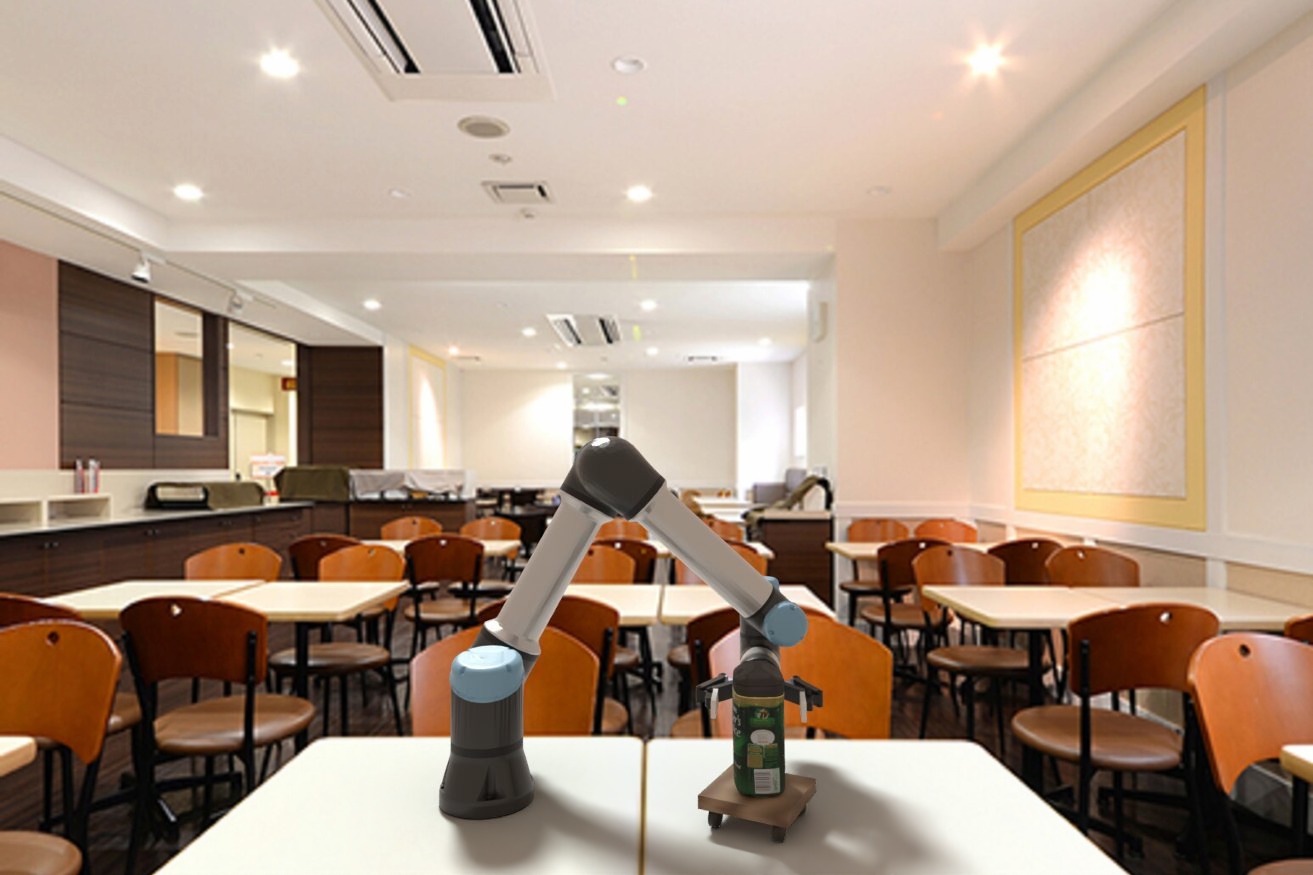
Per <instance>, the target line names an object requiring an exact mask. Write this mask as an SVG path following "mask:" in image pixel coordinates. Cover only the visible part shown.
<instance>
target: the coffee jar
mask: <svg viewBox="0 0 1313 875" xmlns="http://www.w3.org/2000/svg"><path fill="white" fill-rule="evenodd" d="M781 671H782V670H781ZM781 671H780V670H779V669H778V668H777V667H775V666H774V665H772V664H770V663H769V662H768V661H744V662H743V663H741V664H740V665H739V664H738V665H737V666H735V667H734V669H733V671H732V678H733V684H732V702H731V707H732V708H731V710H732V711H731V712H732V713H731V714H732V718H731V719H732V745H733V746H732V756H733V758H732V759H733V762H732V764H733V767H734V783H735V785H736V788H737V790H738V791H739V792H740V793H742V794H746V795H750V796H754V797H770V796H774V795H778V794H782V793H783V792H784V790H785V773H786V757H785V756H786V750H785V749H786V746H785V744H786V743H785V737H786V736H785V735H786V733H785V700H784V680H785V678H784V676H783V673H782V672H781Z"/></svg>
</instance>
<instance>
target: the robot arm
mask: <svg viewBox="0 0 1313 875" xmlns="http://www.w3.org/2000/svg"><path fill="white" fill-rule="evenodd" d="M667 481H668V480H667V479H666V478H664V476H663V475H662V474H660V473H659V471H657V470H656V469H655V467H653V466H652V465H651V463H650V462H649V461H648V460H647V459H646V458H645V456H643V454H642V453H641V452H640V451H639V450H638V449H637V448H636V446H635V445H634V444H632V443H631V442H629V441H628V440H626V439H625V438H623V437H618V436H616V435H615V436H612V435H611V436H610V435H607V436H603V437H598V438H597V437H596V438H595V439H592V440H589V441H588V442H587V443H585V444H584V445H583V446H582V447H581V448H580V449H579V451H577V453H576V455H575V458H574V461H573V463H572V466H571V468H570V469H569V471H568V473H567V475H566V477H565V478H564V480H563V482H562V484H561V486H560V488H559V489H558V492H559V496H560V499H561V500H560V502H561V503H560V505H559V506H558V508H557V510H555V512H554V515H553V517H552V518H551V520H550V522H549V524H548V526H547V528H546V529H545V530H544V533H543V535H542V537H541V538H540V540H539V541H538V544H537V545H536V547H535V549H534V551H533V552H532V555H531V556H530V558H529V559H528V561H527V563H526V565H525V566H524V568H523V570H522V572H521V574H520V576H519V578H518V580H516V583H515V584H514V587H513V588H512V590H511V592H510V593H509V595H508V597H507V599H506V601H505V603H504V604H503V606H502V608H501V609H500V612H499V613H498V615H497V616H496V617H495V618H492V619H489V620H487V621H484V623H483V625H482V627H481V628H480V630H479V632H478V634H477V635H476V637H475V639H474V640H473V642H472V644H471V646H470V647H469V648H468V649H467V650H465V651H462V652H460V653H459V654H457V655H456V656H455V657H454V659H453V661H452V663H451V667H450V673H449V680H448V681H449V684H450V754H449V756H448V761H447V764H446V766H445V769H444V774H443V777H442V781H441V784H440V786H439V790H438V806H439V807H440V809H441V810H442V811H443V812H444V813H446V814H447V815H450V816H453V817H457V818H461V819H463V818H464V819H473V820H474V819H475V820H476V819H492V818H497V817H502V816H507V815H509V814H513V813H515V812H517V811H520V810H522V809H524V808H525V807H527V806H528V805H529V804H530V803H531V802H532V801H533V800H534V796H535V781H534V778H533V776H532V774H531V770H530V767H529V763H528V758H527V757H526V753H525V750H524V694H525V693H524V692H525V691H524V690H525V683H526V681H527V679H528V677H529V675H530V673H531V672H532V669H533V668H534V666H535V664H536V663H537V660H538V658H539V657H540V655H541V653H542V650H541V647H540V643H539V642H540V641H539V640H540V638H541V636H542V634H543V632H544V631H545V629H546V627H547V625H548V624H549V622H550V619H551V618H552V616H553V615H554V613H555V611H556V608H557V607H558V606H559V603H560V602H561V599H562V598H563V596H564V595H565V592H566V591H567V589H568V587H569V585H570V583H571V581H572V580H573V578H574V576H575V574H576V573H577V571H578V569H579V568H580V565H581V563H582V562H583V560H584V558H585V557H586V554H587V553H588V551H589V550H590V547H591V545H592V544H593V542H594V541H595V538H596V536H597V535H598V533H599V531H600V529H601V527H602V526H603V525H604V524H606V523H607V524H608V523H611V522H613V521H614V520H615V519H616V517H617V515H618V514H619V515H620V516H622V517H623V519H625V520H626V521H627V522H628V523H638V524H639V525H640V526H642V527H643V528H644V529H645V530H646V531H647V532H648V533H649V534H650V535H652V537H654V538H655V539H656V540H657V541H658V542H659V543H661V544H662V545H663V546H664V547H665V548H666V549H667V550H668V551H670V552H671V554H672V555H674V556H675V557H676V558H677V559H678V560H680V561H681V562H682V564H684V565H685V566H686V567H688V568H689V569H690V570H691V571H692V572H693V573H694V574H695V575H696V576H697V577H698V578H699V579H701V580H702V581H703V582H704V583H705V584H706V585H707V586H709V587H710V588H711V589H712V590H713V591H714V592H715V593H716V594H717V595H718V596H720V597H721V599H723V600H724V601H725V602H726V603H727V604H729V606H731V608H733V609H734V610H735V611H736V612H738V613H739V664H738V665H740V664H741V663H743V662H744V661H768V662H769V663H770V664H772V665H774V666H775V667H777V668H778V669H779V670H780V671H782V670H781V650H780V648H792V647H794V646H797V645H799V643H801V642H802V641H803V640H804V638H805V637H806V635H807V633H808V629H809V622H808V617H807V615H806V613H805V611H804V610H803V609H802V608H801V607H800V606H799V605H798V604H797V603H796V602H792V601H791V600H789V599H788V597H787V596H785V595H784V594H783V593H782V592H781V591H780V583H779V582H780V581H779V580H778V578H776V577H775V576H768V575H767V576H766V575H763V574H761V573H760V571H758V570H756V568H754V567H753V566H752V565H751V564H750V563H749V561H747V560H746V559H745V558H744V557H743V556H741V555H740V554H739V553H738V551H736V550H735V549H734V548H733V547H731V546H730V545H729V544H728V542H726V541H725V540H724V539H723V538H722V537H720V536H719V535H718V534H717V533H716V532H715V531H714V530H713V529H712V527H710V526H709V525H708V524H706V523H705V522H704V520H702V519H701V518H700V517H699V516H697V514H695V513H694V512H693V511H692V510H691V509H690V508H689V507H687V505H685V503H683V502H682V501H681V500H680V499H679V498H678V497H677V496H675V494H673V492H671V491H670V490H669V489H668V483H667ZM732 684H733V677H731V678H730V677H729V675H727V674H726V673H725V672H720V673H719V674H718V675H717V676H715V677H713V678H710V679H709V680H706V681H704V682H702V683H700V684H698V685H696V686H695V702H696V703H698V704H699V703H700V704H701V703H704V707H706V709H708V710H710V719H713V720H717V714H718V709H719V703H721V702H725V701H728V700H731V699H732ZM784 701H786V702H790V703H792V704H794V705H797V706H799V712H800V718H801V723H808V721H807V720H808V719H807V717H808V715H807V713H808V712H813V711H814V707H816V708H824V691H823V690H822V689H820V688H818V687H817V686H815V685H813V684H811V683H809V682H807V681H805V680H804V679H802V678H801V677H800V675H797V674H796V675H792V677H790V680H788V679H784Z"/></svg>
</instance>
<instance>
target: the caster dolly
mask: <svg viewBox="0 0 1313 875" xmlns="http://www.w3.org/2000/svg"><path fill="white" fill-rule="evenodd" d="M815 794H817V778H815V777H809V776H804V775H797V774H793V773H787V772H785V790H784V792H783V793H782V794H778V795H774V796H770V797H754V796H750V795H746V794H742V793H740V792H739V791H738V790H737V788H736V785H735V783H734V767H733V763H732V764H731V765H729V766H728V767H727V768H726V769H725V770H724V771H723V772H721V774H720V775H718V776H717V777H716V778H715V779H714V780H713V781H712V782H710V783H709V784H708V785H707V786H706V787H705V788H704V789H703V790H702V791H700V792H699V794H697V809H698V810H702V811H707V812H708V813H707V814H708V815H707V823H708V826H709V827H711V828H715V829H719V828H720V827H722V826H721V825H722V823H723V821H724V820H723V819H724V815H725V816H730V817H735V818H738V819H743V820H748V821H751V822H757V823H762V824H766V825H771V826H772V827H771V828H772V829H771V839H772V841H773V842H777V843H784V842H785V839H786V836H787V829H789V828H790V827H791V825H792V824H793V823H794V821H795V820H796V819H797V818H798V816H799V815H800V816H804V815H805V813H806V810H807V805H808V803H809V802H810V801H811V800H812V798H813V797H814V796H815ZM719 826H720V827H719Z"/></svg>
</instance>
